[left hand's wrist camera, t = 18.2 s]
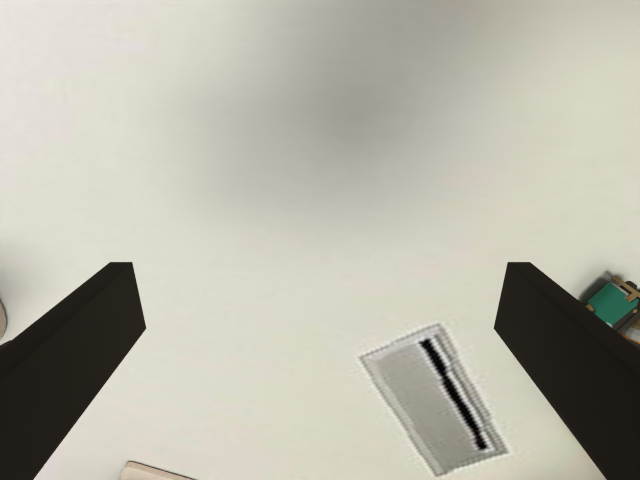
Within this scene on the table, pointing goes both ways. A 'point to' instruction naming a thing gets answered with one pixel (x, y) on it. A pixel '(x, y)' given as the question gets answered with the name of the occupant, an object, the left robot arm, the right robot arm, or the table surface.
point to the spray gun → (619, 308)
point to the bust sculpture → (2, 321)
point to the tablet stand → (146, 473)
